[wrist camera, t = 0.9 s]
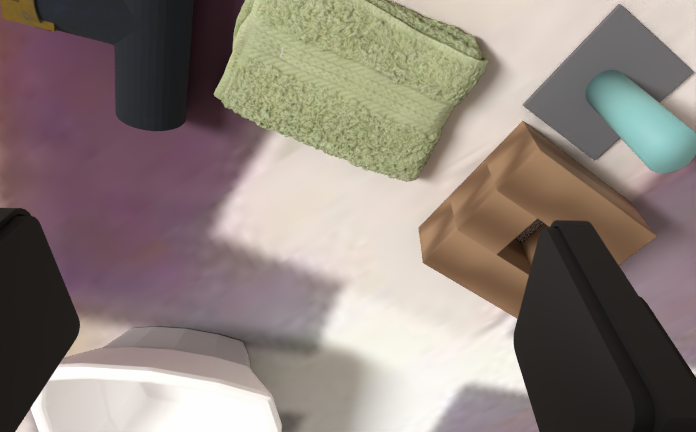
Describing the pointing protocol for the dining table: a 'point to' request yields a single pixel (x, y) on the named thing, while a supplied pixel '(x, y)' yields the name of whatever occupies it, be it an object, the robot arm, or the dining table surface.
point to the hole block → (521, 217)
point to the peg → (642, 122)
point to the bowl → (158, 387)
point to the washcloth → (350, 78)
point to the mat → (594, 58)
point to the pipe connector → (128, 49)
